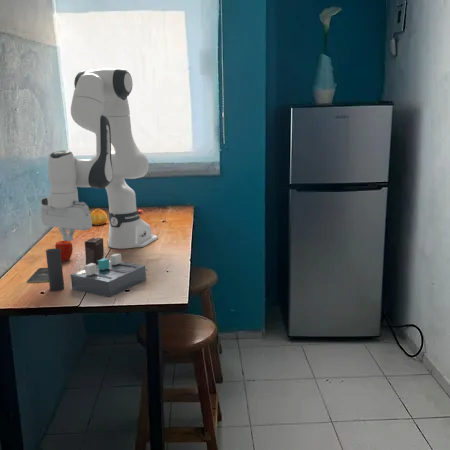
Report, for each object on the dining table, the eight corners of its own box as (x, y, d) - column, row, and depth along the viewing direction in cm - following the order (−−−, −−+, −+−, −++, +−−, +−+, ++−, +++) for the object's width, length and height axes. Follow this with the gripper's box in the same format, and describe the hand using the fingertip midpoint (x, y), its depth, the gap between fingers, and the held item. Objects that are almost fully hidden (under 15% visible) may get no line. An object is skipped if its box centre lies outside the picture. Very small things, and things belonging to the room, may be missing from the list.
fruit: (96, 222, 255) (100, 207, 258) (84, 222, 260) (88, 207, 262) (108, 228, 262) (112, 212, 264) (96, 227, 266) (100, 212, 268)
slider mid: (104, 266, 178) (104, 258, 177) (109, 267, 177) (108, 258, 176) (98, 269, 175) (97, 260, 175) (103, 270, 174) (102, 261, 174)
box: (98, 275, 186) (95, 242, 183) (86, 274, 187) (83, 241, 184) (106, 270, 191) (103, 237, 188) (94, 269, 192) (92, 237, 190)
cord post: (57, 285, 177) (53, 247, 174) (67, 287, 174) (63, 249, 171) (47, 289, 173) (42, 251, 170) (56, 291, 171) (52, 252, 168)
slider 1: (92, 271, 173) (91, 263, 172) (96, 272, 172) (96, 263, 171) (85, 274, 170) (84, 265, 169) (90, 275, 169) (89, 266, 168)
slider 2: (116, 261, 183) (116, 253, 182) (121, 262, 182) (120, 254, 181) (111, 264, 180) (110, 255, 180) (115, 264, 179) (114, 256, 179)
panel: (110, 273, 188) (108, 259, 186) (146, 279, 180) (145, 264, 179) (72, 289, 173) (70, 274, 171) (109, 297, 165) (108, 281, 164)
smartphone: (25, 281, 180) (38, 267, 194) (25, 284, 180) (38, 270, 195) (48, 280, 180) (59, 266, 195) (48, 283, 180) (59, 269, 195)
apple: (77, 258, 206) (75, 239, 204) (65, 263, 201) (63, 243, 199) (65, 256, 209) (63, 238, 208) (53, 260, 204) (51, 242, 202)
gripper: (94, 200, 176) (97, 241, 179) (50, 196, 186) (54, 235, 189) (80, 204, 170) (83, 246, 173) (36, 199, 180) (39, 239, 183)
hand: (68, 240), depth 181 cm, fingers closed
